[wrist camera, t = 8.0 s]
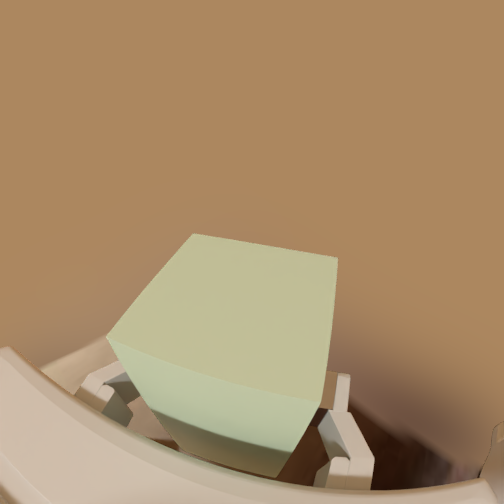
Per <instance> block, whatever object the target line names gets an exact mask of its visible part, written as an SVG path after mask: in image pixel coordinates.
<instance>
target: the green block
mask: <svg viewBox="0 0 504 504" xmlns="http://www.w3.org/2000/svg"><path fill="white" fill-rule="evenodd" d="M337 263H338V258H336V257H330V256H324V255H318V254H313V253H307V252H301V251H295V250H290V249H284V248H278V247H272V246H266V245H260V244H254V243H248V242H242V241H236V240H230V239H224V238H218V237H212V236H206V235H200V234H192V236H190V238H189V239H188V240H187V241H186V242H185V243H184V244H183V245H182V247H181V248H180V249H179V250H178V251H177V252H176V253H175V254H174V255H173V257H172V258H171V259H170V260H169V261H168V262H167V263H166V265H165V266H164V267H163V268H162V269H161V270H160V272H159V273H158V274H157V275H156V276H155V277H154V279H153V280H152V281H151V282H150V283H149V284H148V286H147V287H146V288H145V289H144V290H143V292H142V293H141V294H140V295H139V296H138V298H137V299H136V300H135V301H134V302H133V304H132V305H131V306H130V307H129V309H128V310H127V311H126V312H125V313H124V315H123V316H122V317H121V318H120V320H119V321H118V322H117V323H116V325H115V326H114V327H113V329H112V330H111V331H110V332H109V334H108V335H107V336H106V337H107V339H108V341H109V343H110V345H111V347H112V348H113V350H114V352H115V354H116V356H117V357H118V359H119V361H120V362H121V364H122V366H123V368H124V369H125V371H126V372H127V374H128V376H129V377H130V379H131V381H132V382H133V384H134V385H135V387H136V388H137V390H138V391H139V393H140V394H141V396H142V397H143V399H144V400H145V402H146V403H147V405H148V406H149V408H150V409H151V410H152V412H153V413H154V415H155V416H156V417H157V419H158V420H159V421H160V423H161V424H162V425H163V427H164V428H165V429H166V431H167V432H168V433H169V434H170V436H171V437H172V438H173V440H174V441H175V442H176V443H177V444H178V446H179V447H180V448H181V449H182V450H183V451H185V452H188V453H191V454H193V455H196V456H199V457H202V458H204V459H207V460H210V461H213V462H216V463H220V464H223V465H226V466H229V467H233V468H236V469H240V470H244V471H248V472H252V473H256V474H260V475H264V476H269V477H274V478H276V477H277V476H278V474H279V473H280V471H281V470H282V468H283V467H284V465H285V464H286V462H287V460H288V459H289V457H290V456H291V454H292V452H293V451H294V449H295V448H296V446H297V444H298V443H299V441H300V439H301V437H302V436H303V434H304V432H305V431H306V429H307V427H308V425H309V423H310V422H311V420H312V418H313V416H314V414H315V412H316V411H317V409H318V407H319V405H320V403H321V399H322V393H323V388H324V381H325V375H326V369H327V362H328V355H329V347H330V339H331V331H332V322H333V312H334V302H335V290H336V278H337Z"/></svg>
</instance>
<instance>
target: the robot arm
mask: <svg viewBox="0 0 504 504" xmlns="http://www.w3.org/2000/svg"><path fill="white" fill-rule="evenodd" d="M350 378H351V377H350V374H347V373H339V372H333V371H327V370H326V375H325V381H324V388H323V393H322V399H321V403H320V405H319V407H318V409H317V411H316V412H315V414H314V416H313V418H312V420H311V422H310V423H309V425H311V426H316V427H318V430H319V433H320V436H321V438H322V441H323V444H324V446H325V449H326V452H327V454H328V457H329V460H330V461H329V462H328V463H327V464H326V465H324V466H323V467H322V468H320V469H319V470H318V471H317V473H316V477H315V480H314V484H313V487H312V486H304V485H298V484H291V483H286V482H280V481H275V480H270V479H266V478H261V477H257V476H253V475H249V474H245V473H241V472H237V471H234V470H230V469H227V468H224V467H220V466H217V465H214V464H211V463H208V462H205V461H202V460H199V459H197V458H194V457H191V456H189V455H186V454H183V453H181V452H178V451H176V450H173V449H171V448H169V447H166V446H164V445H162V444H160V443H157V442H155V441H153V440H151V439H149V438H147V437H145V436H142V435H140V434H138V433H136V432H134V431H133V430H131V429H129V428H127V425H128V424H129V422H130V420H131V418H132V416H133V412H132V411H131V410H130V409H129V407H128V406H127V404H128V403H130V402H131V401H133V400H135V399H136V398H138V397H139V396H141V394H140V393H139V391H138V390H137V388H136V387H135V385H134V384H133V382H132V381H131V379H130V377H129V376H128V374H127V372H126V371H125V369H124V368H123V366H122V364H121V362H120V361H119V360H117V361H115V362H113V363H111V364H109V365H107V366H105V367H103V368H101V369H99V370H96V371H94V372H92V373H90V374H89V375H88V376H87V378H86V379H85V381H84V382H83V383H82V385H81V386H80V388H79V389H78V390H77V392H76V393H75V395H72V394H71V393H70V392H68V391H67V390H65V389H64V388H63V387H61V386H60V385H58V384H57V383H56V382H54V381H53V380H52V379H51V378H49V377H48V376H47V375H45V374H44V373H43V372H42V371H40V370H39V369H38V368H37V367H36V366H34V365H33V364H32V363H31V362H29V361H28V360H27V359H26V358H25V357H24V356H23V355H22V354H20V353H19V352H18V351H17V350H16V349H15V348H14V347H12V346H7V347H3V348H0V504H504V422H501V423H500V424H498V425H497V426H495V427H494V429H493V433H492V440H491V449H490V452H489V455H488V457H487V459H486V461H485V463H484V466H483V468H482V471H481V474H480V477H479V478H477V479H472V480H468V481H463V482H458V483H453V484H447V485H440V486H433V487H425V488H416V489H403V490H370V487H371V481H372V475H373V468H374V460H375V458H374V456H373V455H372V453H371V451H370V449H369V447H368V445H367V443H366V441H365V439H364V437H363V435H362V433H361V431H360V430H359V428H358V426H357V424H356V422H355V420H354V418H353V416H352V414H351V413H350V412H347V408H348V399H349V390H350Z"/></svg>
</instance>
